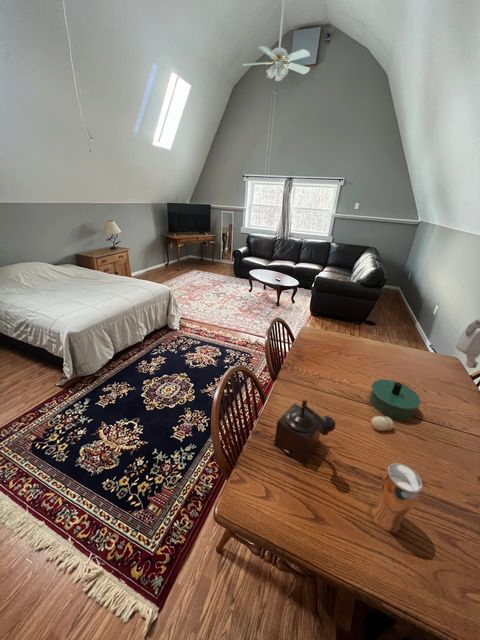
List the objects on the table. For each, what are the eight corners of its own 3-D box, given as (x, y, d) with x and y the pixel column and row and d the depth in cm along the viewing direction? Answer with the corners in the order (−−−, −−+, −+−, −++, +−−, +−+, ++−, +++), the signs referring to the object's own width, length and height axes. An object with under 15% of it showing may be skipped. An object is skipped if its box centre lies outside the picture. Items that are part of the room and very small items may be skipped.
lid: (401, 381, 104) (405, 370, 102) (430, 410, 90) (435, 398, 88) (363, 381, 103) (366, 371, 101) (386, 411, 89) (390, 399, 87)
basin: (397, 392, 106) (401, 381, 104) (422, 420, 93) (428, 408, 90) (362, 392, 105) (365, 381, 102) (382, 421, 91) (387, 409, 89)
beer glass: (364, 516, 63) (381, 474, 57) (377, 497, 68) (394, 456, 61) (394, 543, 59) (416, 500, 52) (407, 521, 63) (428, 479, 57)
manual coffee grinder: (271, 445, 80) (278, 398, 73) (289, 424, 88) (297, 379, 81) (320, 477, 72) (333, 428, 64) (335, 450, 80) (348, 404, 72)
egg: (386, 417, 91) (393, 414, 87) (390, 431, 88) (398, 428, 85) (366, 418, 90) (373, 414, 87) (370, 432, 88) (377, 429, 84)
